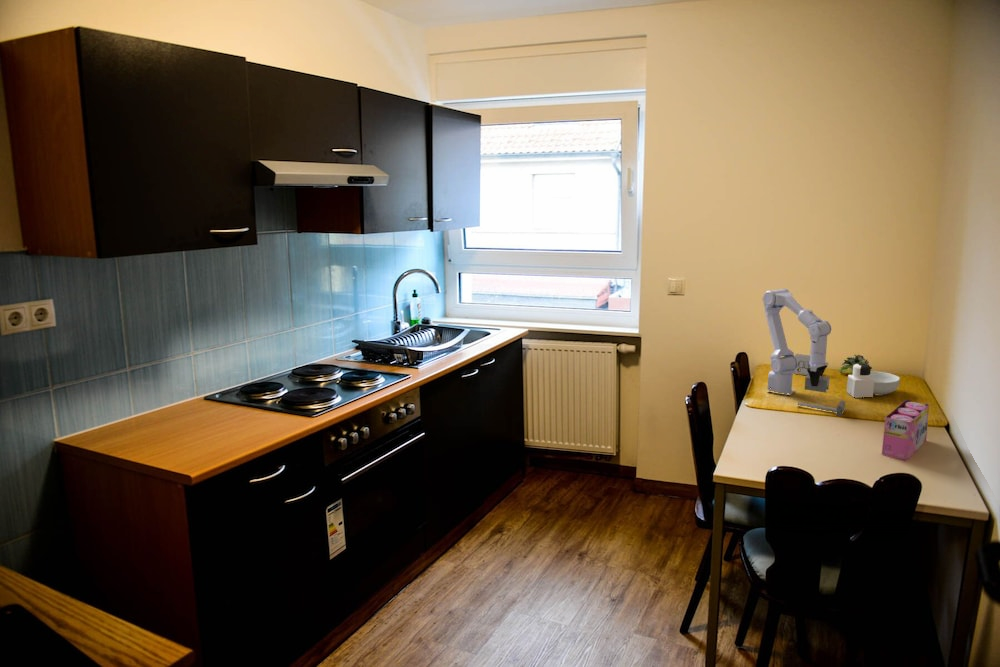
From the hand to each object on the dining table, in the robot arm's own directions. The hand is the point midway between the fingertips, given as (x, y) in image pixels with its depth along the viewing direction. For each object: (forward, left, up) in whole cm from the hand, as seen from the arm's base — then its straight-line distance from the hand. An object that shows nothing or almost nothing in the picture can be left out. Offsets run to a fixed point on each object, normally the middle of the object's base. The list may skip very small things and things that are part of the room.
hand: (815, 384), depth 286 cm
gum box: (+36, -30, -9) cm, 48 cm away
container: (+13, +21, -9) cm, 26 cm away
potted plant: (+6, +50, -9) cm, 51 cm away
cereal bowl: (+18, +28, -9) cm, 34 cm away
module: (0, 0, -2) cm, 2 cm away
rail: (+3, -6, -9) cm, 11 cm away
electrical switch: (-14, +41, -9) cm, 44 cm away
